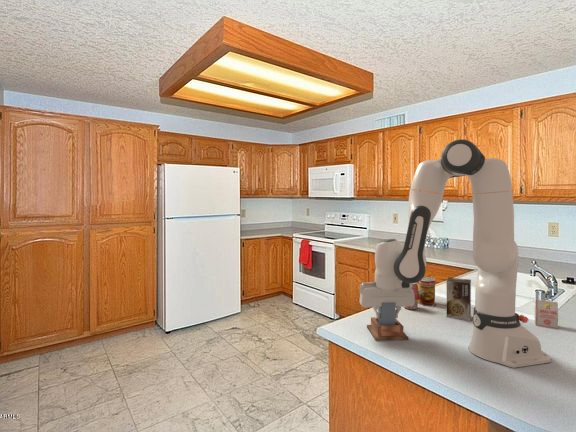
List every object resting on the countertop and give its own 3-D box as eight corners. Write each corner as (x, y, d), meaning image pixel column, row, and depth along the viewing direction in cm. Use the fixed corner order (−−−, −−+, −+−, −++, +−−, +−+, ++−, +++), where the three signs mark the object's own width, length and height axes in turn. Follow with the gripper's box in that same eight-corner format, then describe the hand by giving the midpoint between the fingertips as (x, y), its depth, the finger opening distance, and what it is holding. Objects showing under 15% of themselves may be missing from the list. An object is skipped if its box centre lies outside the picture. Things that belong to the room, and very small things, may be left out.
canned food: (419, 305, 153) (419, 280, 152) (415, 300, 161) (415, 276, 160) (436, 306, 152) (437, 281, 151) (432, 301, 159) (432, 277, 159)
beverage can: (405, 304, 154) (406, 280, 154) (419, 307, 150) (419, 282, 150) (401, 308, 150) (401, 282, 149) (415, 311, 146) (415, 285, 145)
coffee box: (471, 316, 138) (471, 279, 138) (470, 321, 133) (470, 282, 132) (447, 312, 143) (448, 276, 142) (445, 317, 138) (446, 280, 137)
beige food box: (534, 322, 131) (535, 298, 130) (555, 325, 128) (556, 301, 127) (535, 325, 128) (536, 300, 127) (557, 329, 124) (558, 303, 124)
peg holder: (396, 326, 129) (396, 315, 128) (408, 339, 117) (408, 327, 116) (366, 327, 129) (366, 316, 128) (375, 340, 117) (375, 328, 116)
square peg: (390, 324, 125) (391, 298, 124) (395, 329, 120) (395, 303, 119) (378, 324, 125) (378, 299, 124) (382, 329, 120) (382, 303, 119)
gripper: (361, 284, 118) (361, 321, 119) (416, 283, 118) (416, 320, 119) (357, 280, 124) (357, 315, 125) (409, 279, 125) (409, 314, 126)
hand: (386, 317), depth 122 cm, fingers closed on square peg, 5 cm apart
